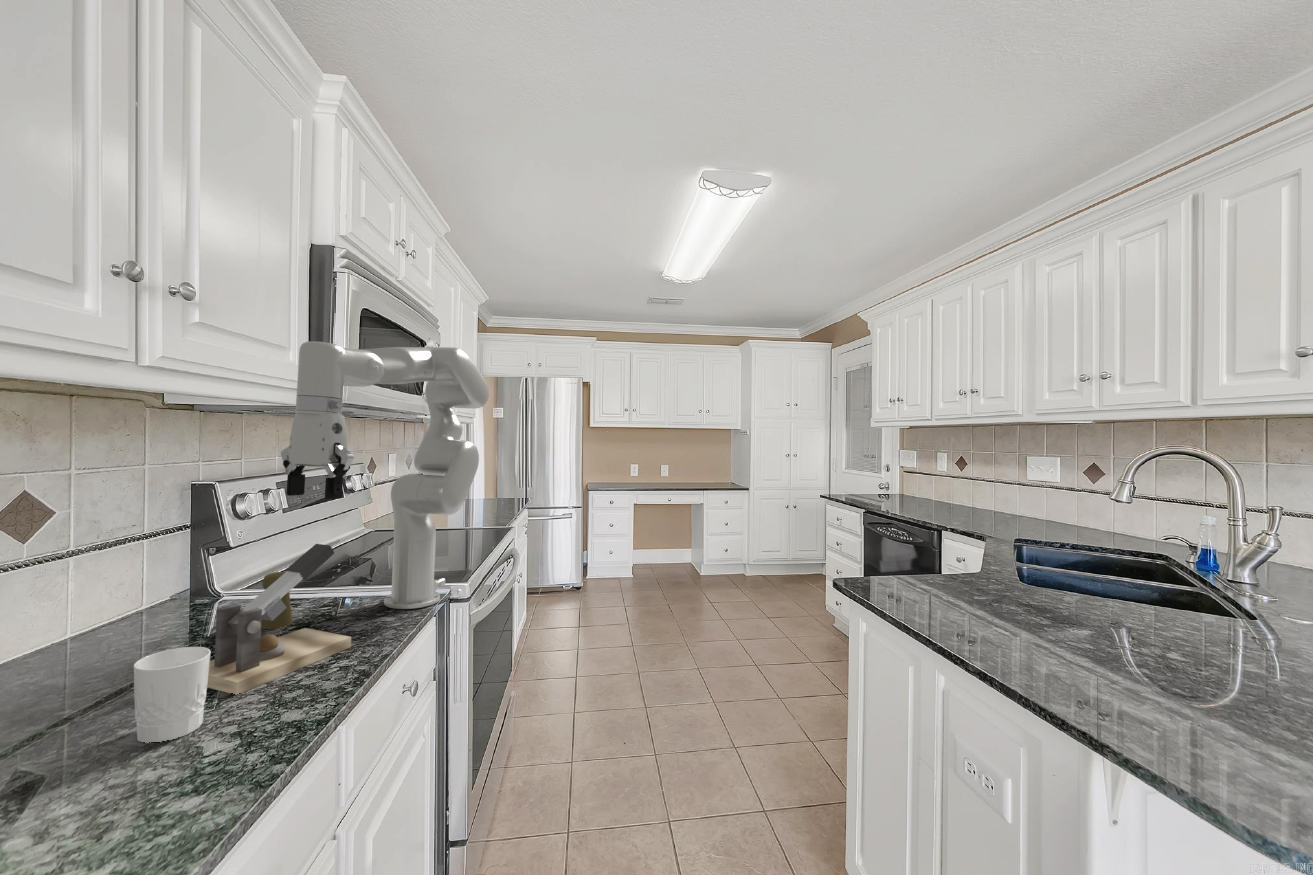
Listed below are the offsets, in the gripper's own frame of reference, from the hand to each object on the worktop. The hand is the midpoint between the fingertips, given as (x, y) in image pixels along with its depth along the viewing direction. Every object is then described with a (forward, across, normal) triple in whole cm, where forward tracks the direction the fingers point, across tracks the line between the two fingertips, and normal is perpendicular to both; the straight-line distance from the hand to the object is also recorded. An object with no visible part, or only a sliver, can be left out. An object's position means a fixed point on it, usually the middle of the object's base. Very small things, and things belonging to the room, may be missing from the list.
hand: (314, 496), depth 102 cm
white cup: (+30, -8, +26) cm, 41 cm away
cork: (+29, +18, -8) cm, 35 cm away
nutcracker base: (+29, 0, +6) cm, 30 cm away
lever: (+18, 0, +3) cm, 18 cm away
